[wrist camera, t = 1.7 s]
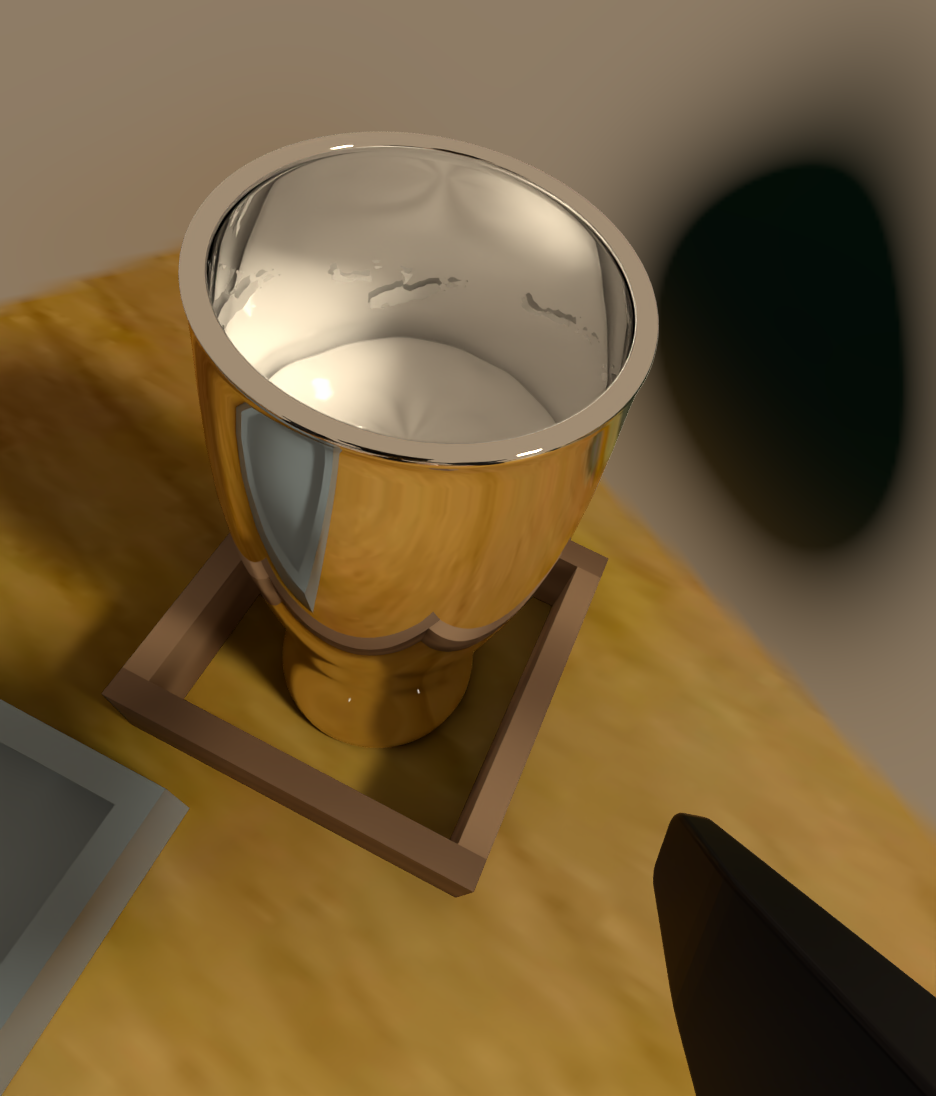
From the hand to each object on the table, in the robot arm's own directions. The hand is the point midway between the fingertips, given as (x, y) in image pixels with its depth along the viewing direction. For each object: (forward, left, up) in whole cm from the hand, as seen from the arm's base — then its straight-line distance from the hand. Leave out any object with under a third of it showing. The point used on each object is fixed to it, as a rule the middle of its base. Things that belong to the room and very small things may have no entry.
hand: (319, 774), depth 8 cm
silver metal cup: (+6, +2, -12) cm, 14 cm away
